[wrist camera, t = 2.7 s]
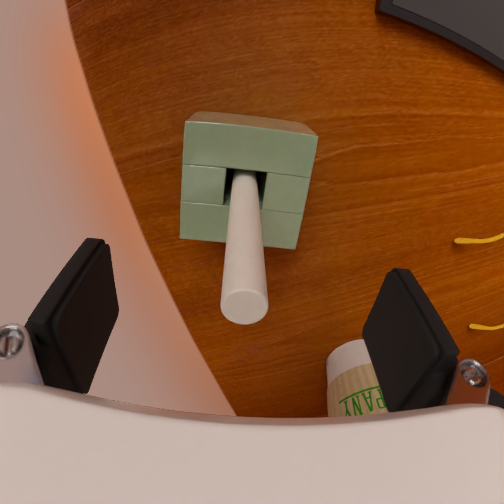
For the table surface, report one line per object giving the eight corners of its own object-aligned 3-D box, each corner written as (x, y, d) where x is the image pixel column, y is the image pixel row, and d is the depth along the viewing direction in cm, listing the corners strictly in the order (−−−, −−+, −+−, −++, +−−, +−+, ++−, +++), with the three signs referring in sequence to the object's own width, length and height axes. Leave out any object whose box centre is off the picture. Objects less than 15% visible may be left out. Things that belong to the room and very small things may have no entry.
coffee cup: (411, 342, 31) (457, 458, 19) (352, 390, 36) (377, 497, 23) (353, 314, 29) (399, 461, 16) (291, 371, 33) (306, 501, 20)
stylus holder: (197, 110, 19) (184, 121, 15) (304, 122, 20) (319, 136, 16) (190, 207, 23) (179, 238, 19) (287, 217, 23) (295, 249, 19)
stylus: (235, 154, 21) (222, 287, 9) (256, 157, 21) (272, 292, 9) (233, 174, 21) (218, 323, 10) (253, 176, 21) (264, 326, 10)
